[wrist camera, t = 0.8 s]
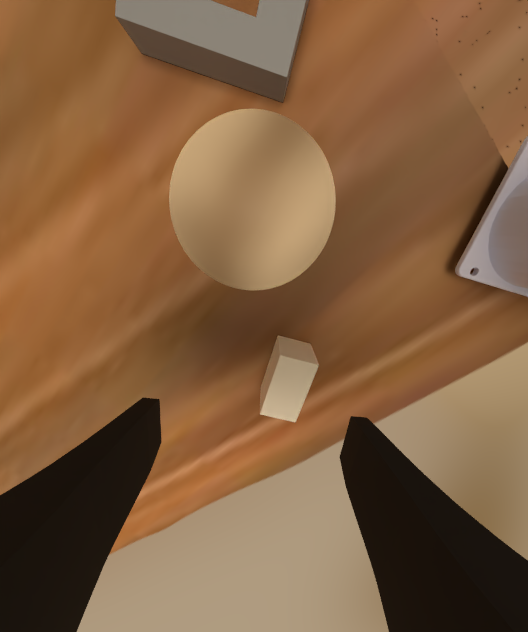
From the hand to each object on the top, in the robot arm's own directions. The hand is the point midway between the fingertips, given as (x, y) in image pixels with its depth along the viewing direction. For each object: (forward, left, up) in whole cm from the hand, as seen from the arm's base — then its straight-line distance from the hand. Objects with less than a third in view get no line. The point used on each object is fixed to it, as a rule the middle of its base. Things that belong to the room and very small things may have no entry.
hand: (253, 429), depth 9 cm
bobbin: (+2, -8, -10) cm, 12 cm away
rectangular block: (-3, +3, -10) cm, 10 cm away
